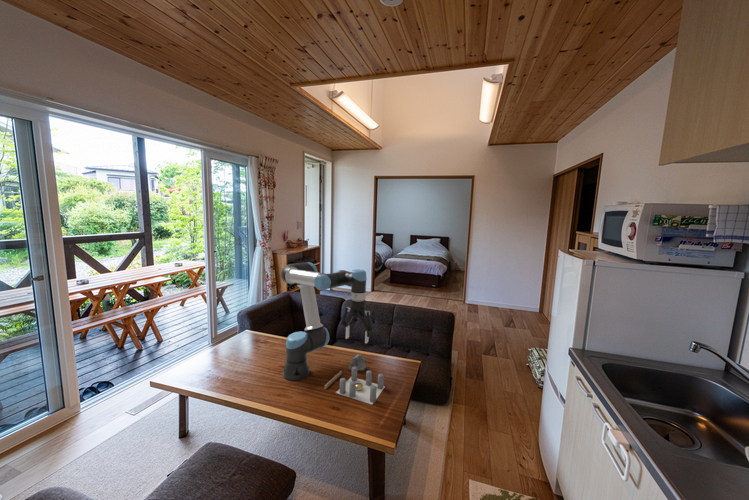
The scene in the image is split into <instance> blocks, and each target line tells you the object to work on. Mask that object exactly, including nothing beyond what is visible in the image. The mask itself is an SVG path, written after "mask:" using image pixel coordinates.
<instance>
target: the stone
mask: <svg viewBox="0 0 749 500" xmlns="http://www.w3.org/2000/svg"><path fill="white" fill-rule="evenodd" d="M367 365H368V364H367V360H366V358H365V356H364V355H363V354H360V353H357V354H356V355H355V356H353V358H352V359H351V361H350V363H349V367H348V370H349V371H351V372H352V367H357V372H358V371H366V369H367Z"/></svg>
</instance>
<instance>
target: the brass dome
mask: <svg viewBox="0 0 749 500" xmlns="http://www.w3.org/2000/svg"><path fill="white" fill-rule="evenodd" d="M362 389H363V384H362V383H356V391H361V390H362Z"/></svg>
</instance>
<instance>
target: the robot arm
mask: <svg viewBox="0 0 749 500" xmlns="http://www.w3.org/2000/svg"><path fill="white" fill-rule="evenodd" d="M280 277H281V280H282V281H283V282H284V283H286V284H290V285H294V284H296V286H297V288H298V287H299V290H300V296H301V302H302V308H303V315H304V320H305V325H306V326H305V328H304V331H295V332H293V333H290V334H288V336H287V337H286V343H285V359H286V360H285V365H284V367H283V371H282V376H283V377H284V378H285V379H286V380H288V381H298V380H299V381H300V380H303V379H305V378H307V377H308V376H309V375H310V370H311V369H310V365H309V362H308V354H310V353H312V352H314V351H317V350H321V349H322V348H324V347H327V345H328V344H329V342H330V333H329V331H328V328H326V327H325V326H324V324H322V323H321V319H320V314H319V307H318V303H317V296H316V290H315V288H316V289H317V290H318V291H322V290H323V291H324V290H328V289H333V288H339V287H344V286H348V287H350V288H351V289H350V290H351V291H350V292H351V293H350V298H351V300H350V307H349V306H347V307H345V308H344V309H345V310H344V311H345V312H344V315H343V317H342V320H341V323H340V324H341V325H342V326H343V327H344V329H343V330H344V333H345V340H348V339H349V338H350V323H351V321H352V320H353V319H354V318H358V319H360V320H361V322H362V324H363V326H364V328H365V332H364V344H368V343H369V338H370V337H371V332H372V331H374V329H375V326H374V323H373V320H372V316H371V315H372V314H371V313H372V311H371V310H366V300H367V299H366V297H367V296H366V295H367V292H366V291H367V290H366V289H367V280H368V279H367V271H366V270H364V269H353V270H352V271H348V270H344V269H338V270H337V271H336V272H330V273H324V272H319V271H318V268H317V266H316V265H315V263H312V262H298V263H289V264H287V265H285V266H283V268H282V269H281V272H280ZM350 312H351V314H350V316H349V313H350ZM348 316H349V317H348Z"/></svg>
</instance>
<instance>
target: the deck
mask: <svg viewBox="0 0 749 500" xmlns="http://www.w3.org/2000/svg"><path fill="white" fill-rule="evenodd" d="M365 371H366V372H365V380H364V379H360V378H358V371H357V367H352V371H351V376H350V377H349V379H346V377H341V378H340V379H339V389H338V390H337V391H335V394H339V395H341V396H344V397H346V398H351V399H354V400H356V401H359V402H362V403H366V404H369V405H373V404H374V403H376V402H377V399H378V397H379V396H380V395H381V393H382V392H383V390H384V389H386V386H384V385H385V384H384V382H385V381H384V380H385V375H384V374H383V373H378V374H377V383H374V382H373V381H372V379H373V370H365ZM342 374H343V370H339V372H338V373H336V374H335V375H334V376H333V377H332V378H331V379H329V381H328V382H327V383H325V384H324V386H323V387H324V388H323V390H327V389H328V388H329V387H330V386H331V385H332V384H333V383H334V382H335V381H336V380H337V379H338V378H339V377H340V376H342ZM356 383H362V384H363V389H362V390H361V391H356Z"/></svg>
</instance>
